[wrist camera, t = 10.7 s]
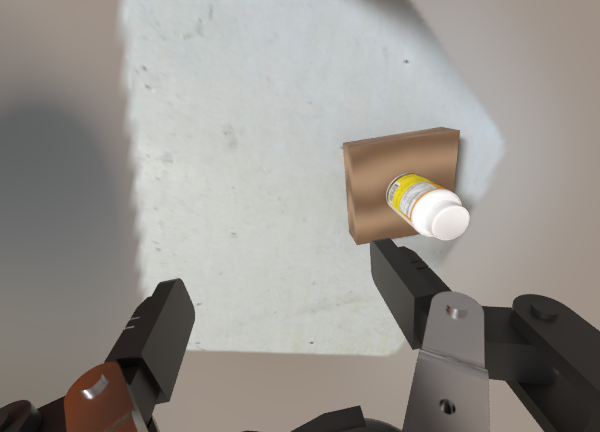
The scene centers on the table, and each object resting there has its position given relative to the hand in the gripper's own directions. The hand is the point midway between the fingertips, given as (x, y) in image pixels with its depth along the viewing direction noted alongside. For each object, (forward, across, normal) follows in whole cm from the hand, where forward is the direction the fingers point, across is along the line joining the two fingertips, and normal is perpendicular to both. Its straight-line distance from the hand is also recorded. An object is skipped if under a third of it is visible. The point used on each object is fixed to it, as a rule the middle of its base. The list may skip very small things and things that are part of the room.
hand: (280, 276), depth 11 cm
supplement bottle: (+23, -17, +8) cm, 30 cm away
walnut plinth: (+27, -17, +8) cm, 33 cm away
